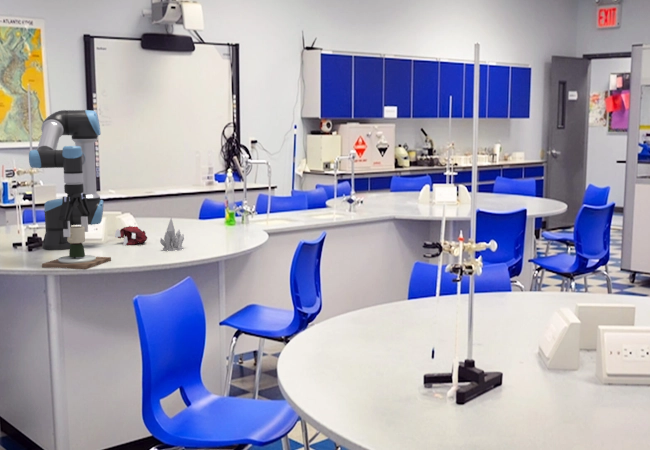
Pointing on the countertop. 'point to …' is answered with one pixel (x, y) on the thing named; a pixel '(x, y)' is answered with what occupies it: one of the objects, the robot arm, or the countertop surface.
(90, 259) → the saucer
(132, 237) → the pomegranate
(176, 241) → the crystal
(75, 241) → the character mug
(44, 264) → the stand
